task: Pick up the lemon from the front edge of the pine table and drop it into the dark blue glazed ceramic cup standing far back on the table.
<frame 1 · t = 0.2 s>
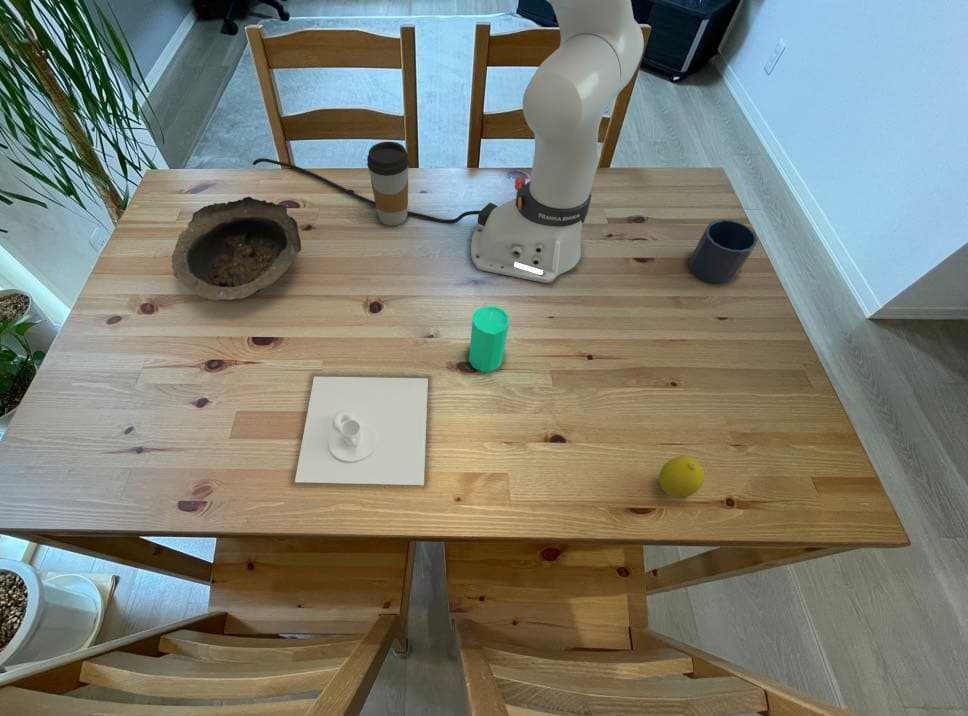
lemon: (669, 488, 78), on the table
candle: (485, 359, 91), on the table
glazed cup: (712, 267, 102), on the table
stone bowl: (247, 274, 104), on the table
teacup and saucer: (365, 427, 84), on the table
coffee cup: (393, 217, 112), on the table
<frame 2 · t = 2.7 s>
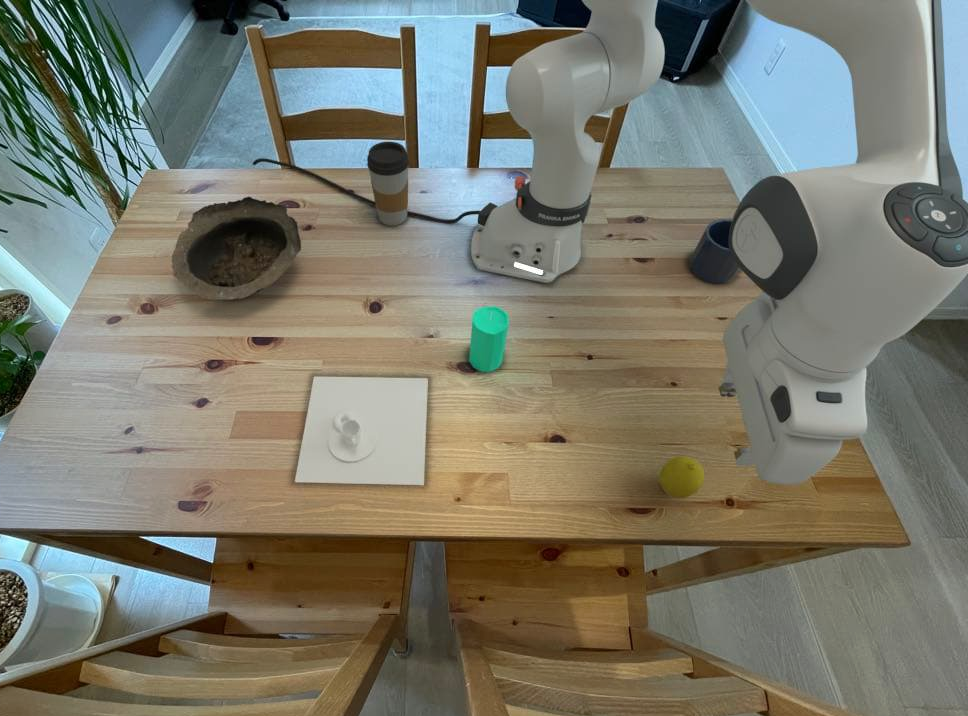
hand: (733, 424, 61), 19 cm above the table, tool pointing down, fingers open, 8 cm apart
nothing on the table moved.
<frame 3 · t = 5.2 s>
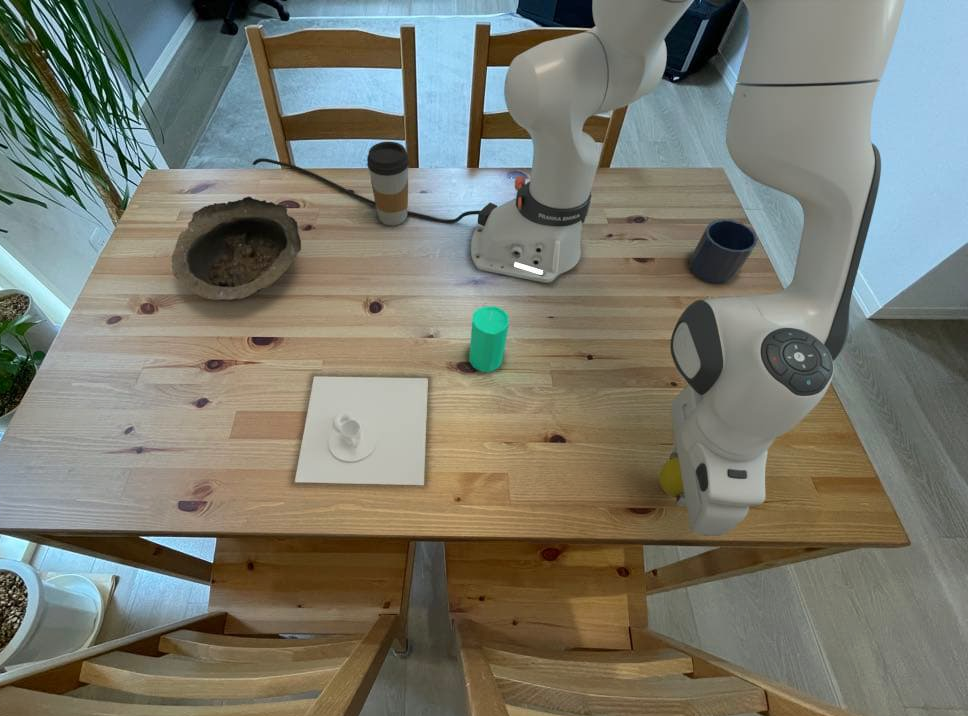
hand: (678, 480, 75), 3 cm above the table, tool pointing down, fingers closed on lemon, 5 cm apart
lemon: (669, 488, 78), on the table, touching gripper
everything else where it was.
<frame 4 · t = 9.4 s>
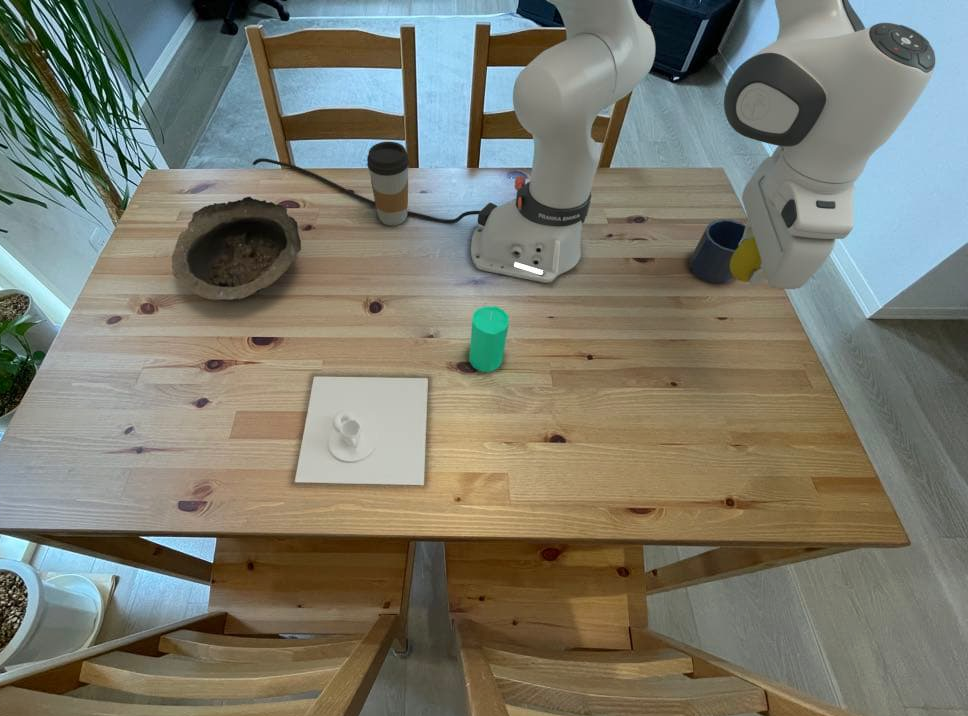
hand: (748, 265, 76), 19 cm above the table, tool pointing down, fingers closed on lemon, 5 cm apart
lemon: (738, 280, 79), point 16 cm above the table, touching gripper
everything else where it was.
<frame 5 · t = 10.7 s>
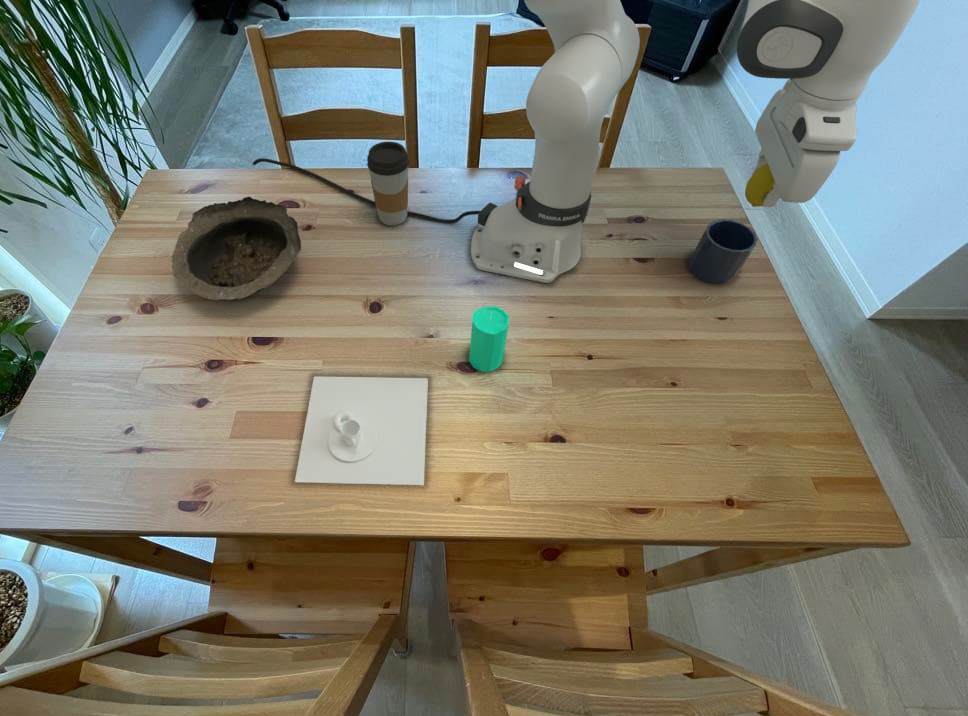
hand: (762, 191, 85), 19 cm above the table, tool pointing down, fingers closed on lemon, 5 cm apart
lemon: (752, 207, 87), point 16 cm above the table, touching gripper
everything else where it was.
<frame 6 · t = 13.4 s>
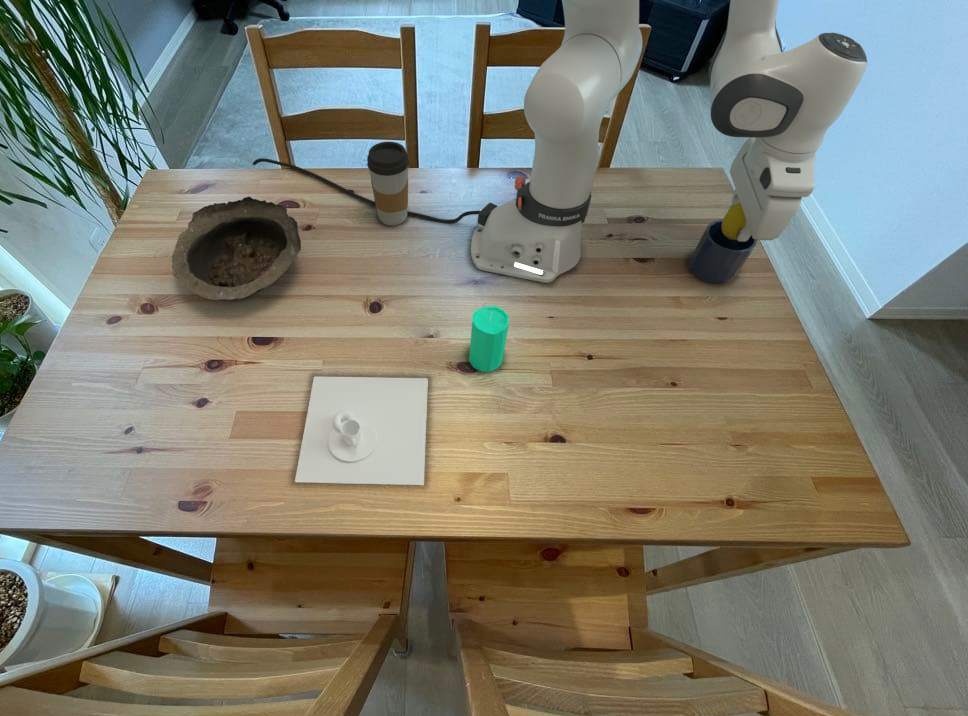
hand: (736, 226, 94), 10 cm above the table, tool pointing down, fingers closed on lemon, 5 cm apart
lemon: (729, 239, 96), point 7 cm above the table, touching gripper
everything else where it was.
when the fingers open (9 cm above the table, at t = 14.0 s): lemon drops 5 cm, resting on glazed cup.
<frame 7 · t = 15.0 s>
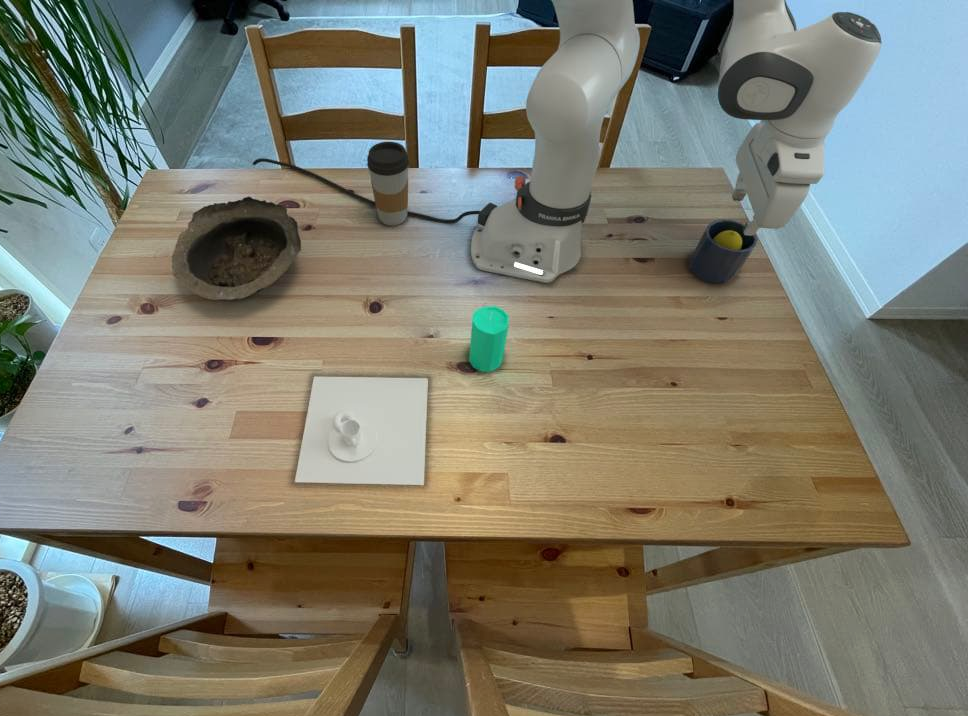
hand: (741, 215, 92), 12 cm above the table, tool pointing down, fingers open, 8 cm apart
lemon: (713, 265, 102), point 1 cm above the table, touching glazed cup
everything else where it was.
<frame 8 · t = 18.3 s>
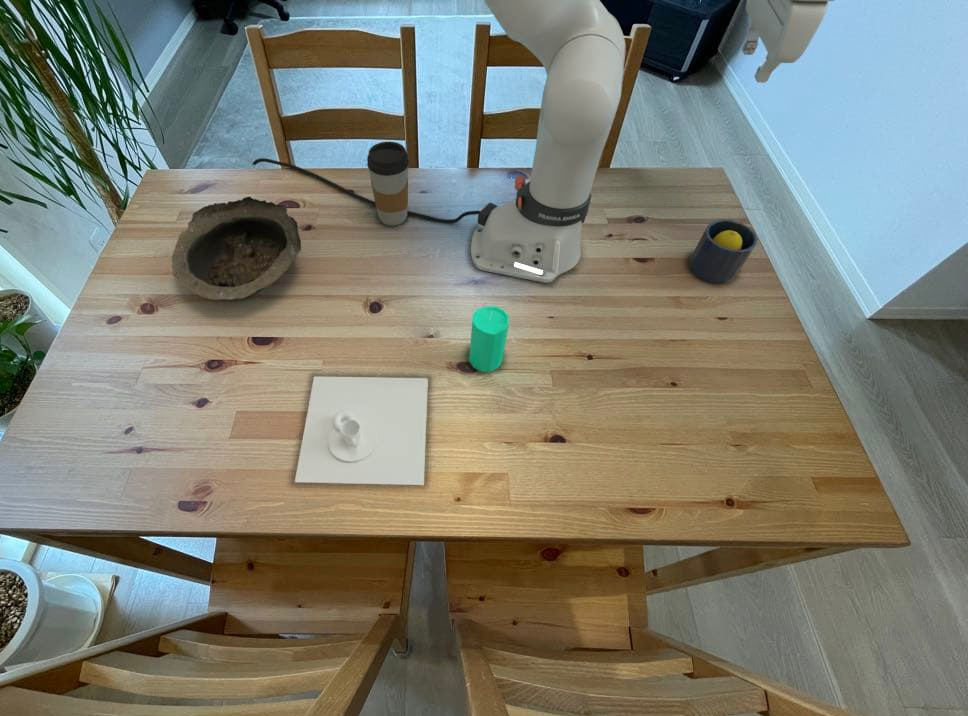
hand: (753, 66, 87), 29 cm above the table, tool pointing down, fingers open, 8 cm apart
nothing on the table moved.
at the end: lemon 0.1 cm off-centre in the glazed cup, point 0.6 cm above the glazed cup's base; the gripper is holding nothing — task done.
